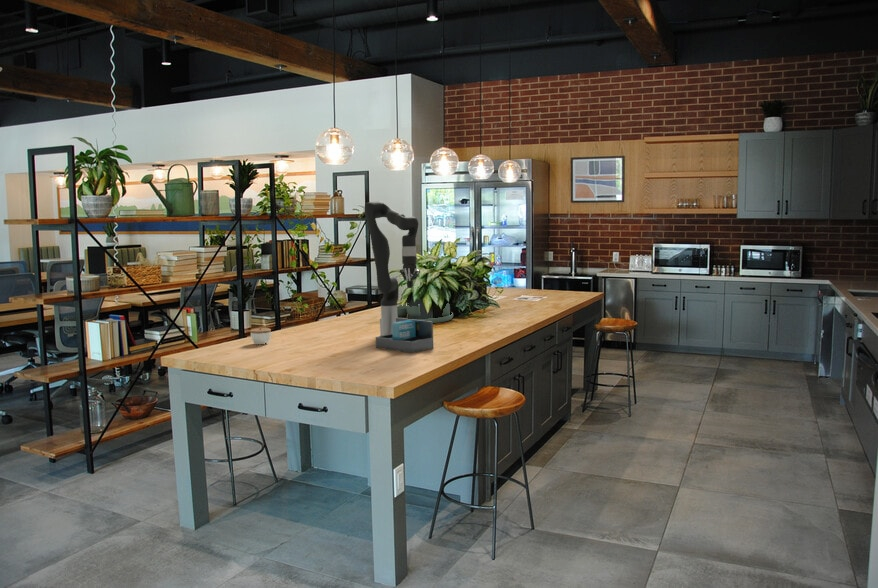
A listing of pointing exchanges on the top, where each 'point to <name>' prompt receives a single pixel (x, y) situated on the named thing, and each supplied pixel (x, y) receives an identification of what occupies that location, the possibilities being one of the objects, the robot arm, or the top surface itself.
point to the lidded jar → (260, 335)
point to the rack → (410, 344)
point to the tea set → (415, 312)
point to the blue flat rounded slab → (403, 330)
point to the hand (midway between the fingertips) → (410, 287)
